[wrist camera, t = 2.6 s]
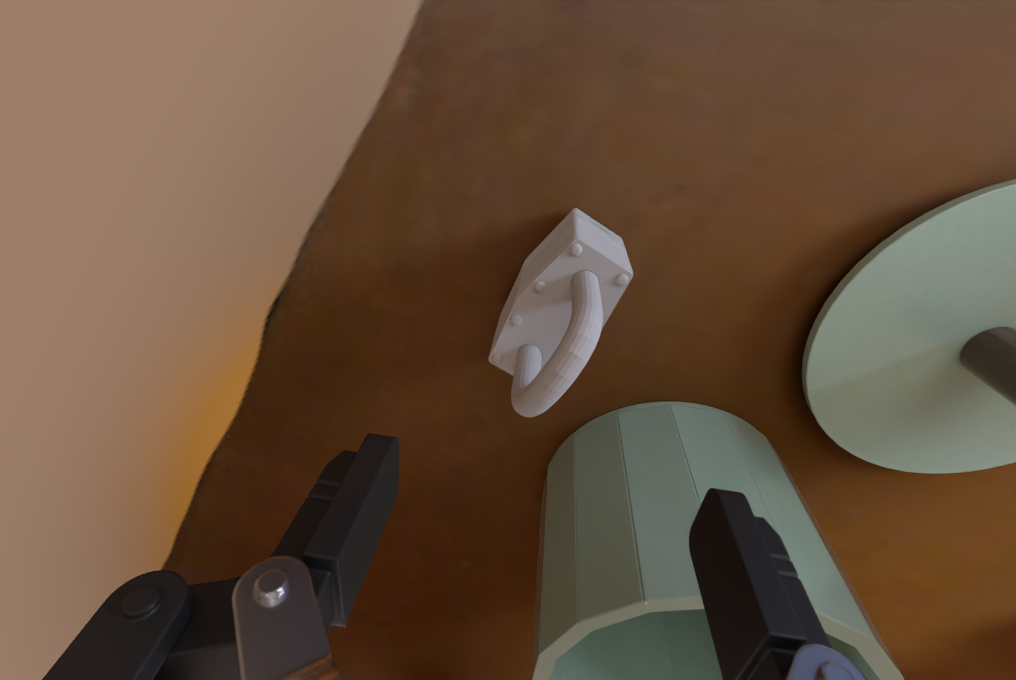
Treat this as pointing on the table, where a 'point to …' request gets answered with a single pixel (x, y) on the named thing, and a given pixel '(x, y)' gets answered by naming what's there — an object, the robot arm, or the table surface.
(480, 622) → the table surface
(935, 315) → the pot lid
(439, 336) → the table surface
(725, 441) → the pot
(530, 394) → the padlock
